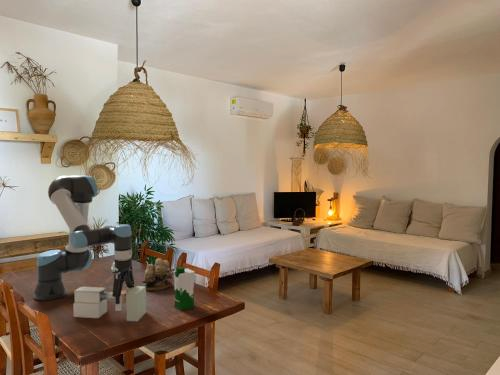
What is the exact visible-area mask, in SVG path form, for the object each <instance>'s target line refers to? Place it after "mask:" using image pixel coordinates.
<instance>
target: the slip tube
mask: <svg viewBox="0 0 500 375" xmlns="http://www.w3.org/2000/svg"><path fill="white" fill-rule="evenodd" d="M127 292H129V291H126V290H123V289H122V291H121V296H122V304H126V293H127ZM112 294H113V291H105V292H100V300H107V301H114V302H115V297H112Z"/></svg>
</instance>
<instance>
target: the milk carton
mask: <svg viewBox="0 0 500 375" xmlns="http://www.w3.org/2000/svg"><path fill="white" fill-rule="evenodd" d="M172 272H173V279H174V307H175V308H176V309H178V310H180V311H185V310H189V309H193V308H195V272H196V271H195V270H192V269H190V268H186V267H185V266H177V267H176V268H175V270H173V271H172Z"/></svg>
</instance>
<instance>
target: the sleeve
mask: <svg viewBox="0 0 500 375" xmlns="http://www.w3.org/2000/svg"><path fill="white" fill-rule="evenodd" d="M100 292H106V287H100V286H98V287H97V286H79V287H78V288H77V289H75V290H74V293H73V294H74V302H73V317H74V318H85V319H86V318H89V319H91V318H92V319H99V318H101V317H102V316H104V314H106V313H107V312H108V300H100Z"/></svg>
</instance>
